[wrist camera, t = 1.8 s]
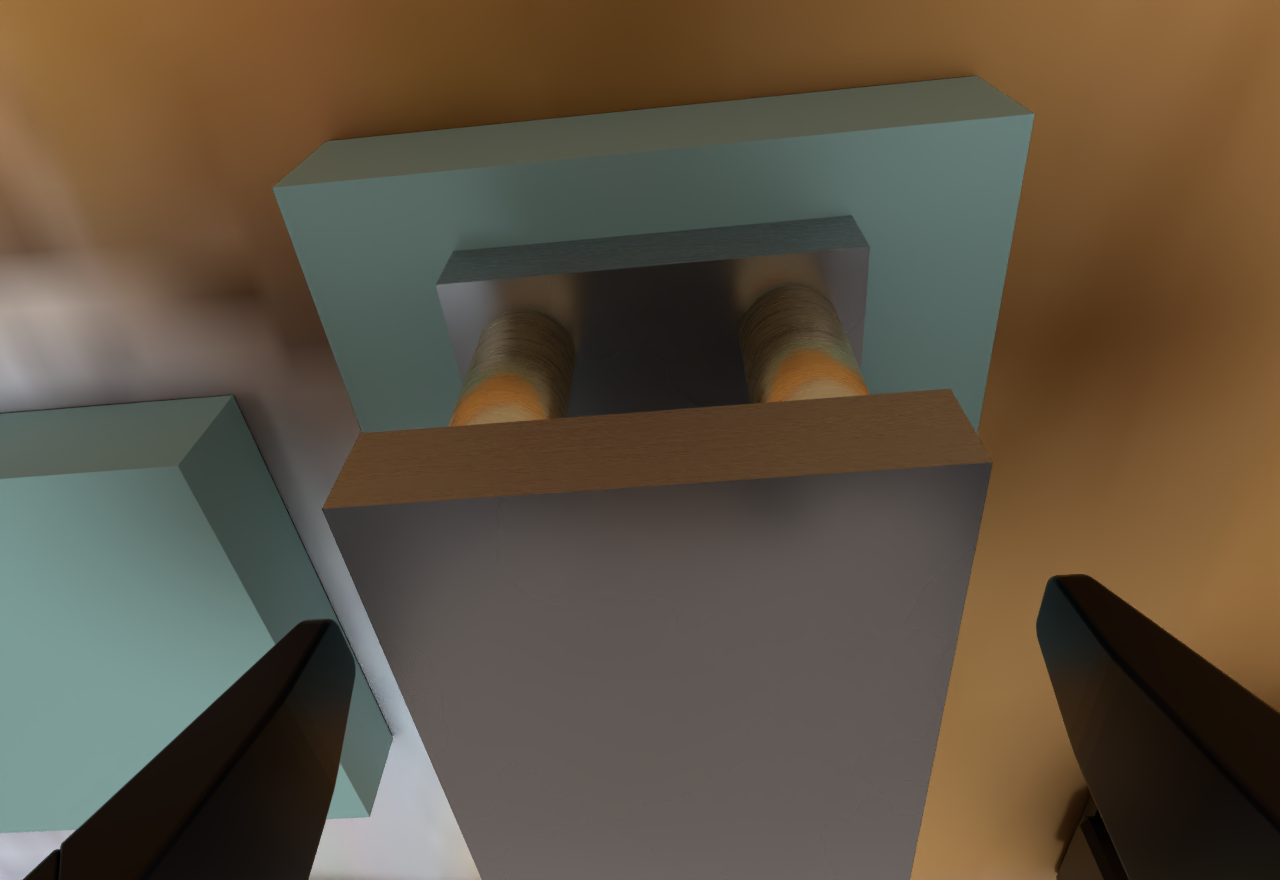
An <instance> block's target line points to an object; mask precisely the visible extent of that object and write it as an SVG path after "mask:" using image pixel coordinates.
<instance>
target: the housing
mask: <svg viewBox="0 0 1280 880" xmlns="http://www.w3.org/2000/svg"><path fill="white" fill-rule="evenodd" d="M869 254H870V246H869V244H868V242H867V241H866V239H865V237H864V235H863V234H862V232H861V230H860V228H859V226H858V225H857V223H856V221H855V219H854V218H853V216H852V215H848V216H837V217H825V218H814V219H803V220H792V221H781V222H770V223H759V224H748V225H737V226H726V227H715V228H704V229H693V230H682V231H671V232H659V233H648V234H637V235H626V236H615V237H604V238H593V239H582V240H571V241H560V242H549V243H538V244H527V245H516V246H504V247H493V248H482V249H471V250H460V251H453V252H452V254H451V256H450V258H449V260H448V262H447V264H446V266H445V268H444V270H443V272H442V274H441V275H440V277H439V279H438V281H437V283H436V288H437V292H438V295H439V299H440V303H441V307H442V310H443V314H444V318H445V322H446V325H447V329H448V333H449V337H450V340H451V344H452V348H453V352H454V355H455V359H456V363H457V367H458V370H459V374H460V378H461V382H462V388H461V391H460V394H459V396H458V399H457V402H456V405H455V408H454V410H453V413H452V416H451V419H450V421H449V424H448V427H436V428H423V429H410V430H397V431H384V432H370V433H360V435H359V437H358V439H357V441H356V443H355V445H354V447H353V449H352V451H351V453H350V455H349V457H348V459H347V460H346V462H345V464H344V466H343V468H342V470H341V472H340V474H339V476H338V478H337V480H336V482H335V484H334V486H333V488H332V490H331V492H330V494H329V496H328V498H327V500H326V502H325V504H324V506H323V508H322V510H323V513H324V515H325V517H326V520H327V522H328V524H329V527H330V529H331V531H332V533H333V536H334V538H335V540H336V543H337V545H338V547H339V550H340V552H341V554H342V557H343V559H344V561H345V564H346V566H347V568H348V570H349V573H350V575H351V577H352V580H353V582H354V584H355V587H356V589H357V591H358V594H359V596H360V598H361V601H362V603H363V605H364V608H365V610H366V612H367V614H368V617H369V619H370V621H371V624H372V626H373V628H374V631H375V633H376V635H377V638H378V640H379V642H380V645H381V647H382V649H383V652H384V654H385V656H386V658H387V661H388V663H389V665H390V668H391V670H392V672H393V675H394V677H395V679H396V682H397V684H398V686H399V689H400V691H401V693H402V696H403V698H404V700H405V702H406V705H407V707H408V709H409V712H410V714H411V716H412V719H413V721H414V723H415V726H416V728H417V730H418V733H419V735H420V737H421V739H422V742H423V744H424V746H425V749H426V751H427V753H428V756H429V758H430V760H431V763H432V765H433V767H434V770H435V772H436V774H437V777H438V779H439V781H440V783H441V786H442V788H443V790H444V793H445V795H446V797H447V800H448V802H449V804H450V807H451V809H452V811H453V814H454V816H455V818H456V821H457V823H458V825H459V827H460V830H461V832H462V834H463V837H464V839H465V841H466V844H467V846H468V848H469V851H470V853H471V855H472V858H473V860H474V862H475V865H476V867H477V869H478V871H479V874H480V876H481V878H482V880H910V877H911V872H912V867H913V862H914V857H915V851H916V846H917V841H918V836H919V831H920V826H921V821H922V816H923V811H924V806H925V801H926V796H927V791H928V786H929V781H930V776H931V771H932V766H933V761H934V756H935V751H936V746H937V740H938V735H939V730H940V725H941V720H942V715H943V710H944V705H945V700H946V695H947V690H948V685H949V680H950V675H951V670H952V665H953V660H954V655H955V650H956V645H957V640H958V634H959V629H960V624H961V619H962V614H963V609H964V604H965V599H966V594H967V589H968V584H969V579H970V574H971V569H972V564H973V559H974V554H975V549H976V544H977V539H978V534H979V529H980V523H981V518H982V513H983V508H984V503H985V498H986V493H987V488H988V483H989V478H990V473H991V468H992V463H993V462H992V460H991V459H990V457H989V455H988V453H987V452H986V450H985V448H984V446H983V444H982V443H981V441H980V439H979V437H978V436H977V434H976V432H975V430H974V429H973V427H972V425H971V423H970V422H969V420H968V418H967V416H966V415H965V413H964V411H963V409H962V408H961V406H960V404H959V402H958V401H957V399H956V397H955V395H954V394H953V392H952V390H951V389H939V390H925V391H912V392H899V393H886V394H873V395H870V392H869V390H868V387H867V385H866V383H865V380H864V378H863V375H862V373H861V365H862V351H863V338H864V324H865V310H866V296H867V282H868V268H869Z"/></svg>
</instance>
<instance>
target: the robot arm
mask: <svg viewBox="0 0 1280 880" xmlns="http://www.w3.org/2000/svg"><path fill="white" fill-rule="evenodd" d="M1036 630H1037V637H1038V641H1039V644H1040V648H1041V651H1042V654H1043V657H1044V660H1045V664H1046V667H1047V670H1048V673H1049V676H1050V680H1051V683H1052V686H1053V689H1054V692H1055V695H1056V699H1057V702H1058V705H1059V708H1060V711H1061V715H1062V718H1063V721H1064V724H1065V727H1066V731H1067V734H1068V737H1069V740H1070V743H1071V746H1072V749H1073V751H1074V754H1075V757H1076V759H1077V762H1078V764H1079V767H1080V769H1081V772H1082V774H1083V776H1084V779H1085V781H1086V783H1087V785H1088V788H1089V790H1090V792H1091V794H1090V796H1089V799H1088V801H1087V804H1086V806H1085V809H1084V811H1083V813H1082V816H1081V818H1080V821H1079V823H1078V826H1077V828H1076V830H1075V833H1074V835H1073V838H1072V840H1071V842H1070V845H1069V847H1068V850H1067V852H1066V855H1065V857H1064V859H1063V862H1062V864H1061V867H1060V869H1059V872H1058V874H1057V880H1280V713H1279V712H1278V711H1276V710H1275V709H1273V708H1272V707H1271V706H1269V705H1268V704H1267V703H1265V702H1264V701H1262V700H1261V699H1260V698H1258V697H1257V696H1255V695H1254V694H1253V693H1251V692H1250V691H1249V690H1247V689H1246V688H1244V687H1243V686H1242V685H1240V684H1239V683H1237V682H1236V681H1235V680H1233V679H1232V678H1231V677H1229V676H1228V675H1226V674H1225V673H1224V672H1222V671H1221V670H1219V669H1218V668H1217V667H1215V666H1214V665H1213V664H1211V663H1210V662H1208V661H1207V660H1206V659H1204V658H1203V657H1201V656H1200V655H1199V654H1197V653H1196V652H1195V651H1193V650H1192V649H1190V648H1189V647H1188V646H1186V645H1185V644H1183V643H1182V642H1181V641H1179V640H1178V639H1177V638H1175V637H1174V636H1172V635H1171V634H1170V633H1168V632H1167V631H1165V630H1164V629H1163V628H1161V627H1160V626H1159V625H1157V624H1156V623H1154V622H1153V621H1152V620H1150V619H1149V618H1147V617H1146V616H1145V615H1143V614H1142V613H1141V612H1139V611H1138V610H1136V609H1135V608H1134V607H1132V606H1131V605H1129V604H1128V603H1127V602H1125V601H1124V600H1123V599H1121V598H1120V597H1118V596H1117V595H1116V594H1114V593H1113V592H1112V591H1110V590H1109V589H1107V588H1106V587H1105V586H1103V585H1102V584H1100V583H1099V582H1098V581H1096V580H1095V579H1093V578H1092V577H1090V576H1088V575H1085V574H1072V575H1056V576H1053V577H1051V578H1050V579H1049V580H1048V582H1047V585H1046V588H1045V592H1044V596H1043V599H1042V603H1041V606H1040V610H1039V614H1038V617H1037V622H1036ZM355 676H356V665H355V660H354V657H353V655H352V652H351V650H350V648H349V646H348V644H347V642H346V640H345V637H344V635H343V633H342V631H341V629H340V627H339V625H338V623H337V622H336V621H334V620H333V619H329V618H328V619H311V620H304V621H302V622H300V623H298V624H297V625H296V626H295V627H294V628H292V629H291V630H290V631H289V632H288V633H287V634H286V635H285V636H284V637H283V638H282V639H281V640H280V641H279V642H277V643H276V644H275V645H274V646H273V647H272V648H271V649H270V650H269V651H268V652H267V653H266V654H265V655H264V656H262V657H261V658H260V659H259V660H258V661H257V662H256V663H255V664H254V665H253V666H252V667H251V668H250V669H248V670H247V671H246V672H245V673H244V674H243V675H242V676H241V677H240V678H239V679H238V680H237V681H236V682H235V683H233V684H232V685H231V686H230V687H229V688H228V689H227V690H226V691H225V692H224V693H223V694H222V695H221V696H219V697H218V698H217V699H216V700H215V701H214V702H213V703H212V704H211V705H210V706H209V707H208V708H207V709H206V710H204V711H203V712H202V713H201V714H200V715H199V716H198V717H197V718H196V719H195V720H194V721H193V722H192V723H191V724H189V725H188V726H187V727H186V728H185V729H184V730H183V731H182V732H181V733H180V734H179V735H178V736H177V737H175V738H174V739H173V740H172V741H171V742H170V743H169V744H168V745H167V746H166V747H165V748H164V749H163V750H162V751H160V752H159V753H158V754H157V755H156V756H155V757H154V758H153V759H152V760H151V761H150V762H149V763H148V764H147V765H145V766H144V767H143V768H142V769H141V770H140V771H139V772H138V773H137V774H136V775H135V776H134V777H133V778H131V779H130V780H129V781H128V782H127V783H126V784H125V785H124V786H123V787H122V788H121V789H120V790H119V791H118V792H116V793H115V794H114V795H113V796H112V797H111V798H110V799H109V800H108V801H107V802H106V803H105V804H104V805H102V806H101V807H100V808H99V809H98V810H97V811H96V812H95V813H94V814H93V815H92V816H91V817H90V818H89V819H87V820H86V821H85V822H84V823H83V824H82V825H81V826H80V827H79V828H78V829H77V830H76V831H75V832H74V833H72V834H71V835H70V836H69V837H68V838H67V839H66V840H65V841H64V842H63V843H62V844H61V847H60V849H56V850H54V851H53V852H52V853H51V854H50V855H49V856H47V857H46V858H45V859H44V860H43V861H42V862H41V863H40V864H39V865H38V866H37V867H36V868H35V869H33V870H32V871H31V872H30V873H29V874H28V875H27V876H26V877H25V878H24V879H23V880H308V879H309V876H310V872H311V869H312V865H313V862H314V859H315V855H316V852H317V849H318V845H319V842H320V838H321V835H322V832H323V828H324V825H325V821H326V818H327V815H328V811H329V808H330V804H331V801H332V797H333V793H334V789H335V785H336V780H337V775H338V771H339V765H340V760H341V754H342V749H343V743H344V738H345V732H346V727H347V721H348V715H349V710H350V704H351V699H352V693H353V688H354V682H355Z"/></svg>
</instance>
